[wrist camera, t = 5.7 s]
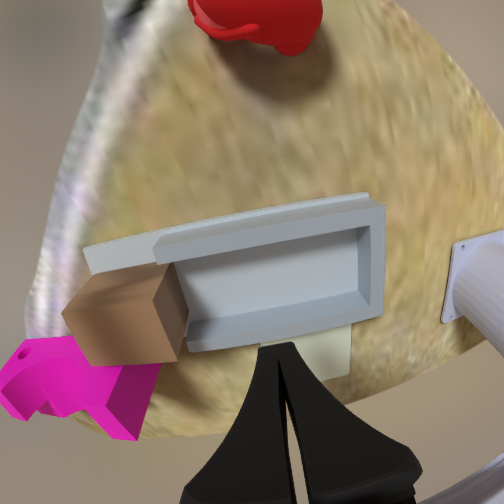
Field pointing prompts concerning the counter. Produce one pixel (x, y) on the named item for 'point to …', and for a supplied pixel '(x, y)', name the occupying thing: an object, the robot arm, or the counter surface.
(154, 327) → the walnut block
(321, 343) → the sage coaster
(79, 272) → the counter surface
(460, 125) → the counter surface
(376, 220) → the trough deck
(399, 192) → the counter surface
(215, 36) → the red rounded piece
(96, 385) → the magenta cradle bracket
